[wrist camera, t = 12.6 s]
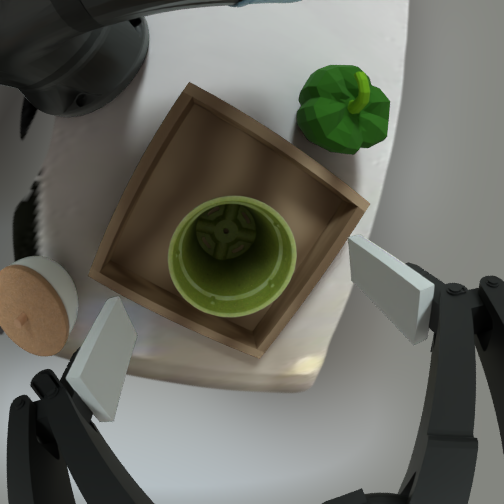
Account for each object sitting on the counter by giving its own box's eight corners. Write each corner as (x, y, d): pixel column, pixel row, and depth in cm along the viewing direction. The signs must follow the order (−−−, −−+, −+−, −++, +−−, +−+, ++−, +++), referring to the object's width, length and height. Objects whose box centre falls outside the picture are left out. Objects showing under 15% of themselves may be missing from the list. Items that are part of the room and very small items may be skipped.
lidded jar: (88, 331, 32) (63, 379, 23) (24, 307, 30) (-10, 345, 21) (94, 256, 29) (58, 294, 21) (23, 234, 27) (-22, 261, 18)
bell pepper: (350, 161, 30) (403, 168, 20) (279, 144, 28) (312, 141, 19) (361, 92, 27) (414, 76, 18) (292, 71, 26) (328, 39, 16)
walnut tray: (103, 258, 30) (87, 276, 25) (192, 93, 25) (189, 81, 21) (253, 333, 35) (259, 358, 31) (348, 195, 31) (370, 203, 26)
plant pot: (289, 241, 30) (317, 274, 22) (214, 290, 31) (217, 337, 23) (240, 164, 27) (253, 169, 19) (160, 220, 28) (141, 247, 20)
